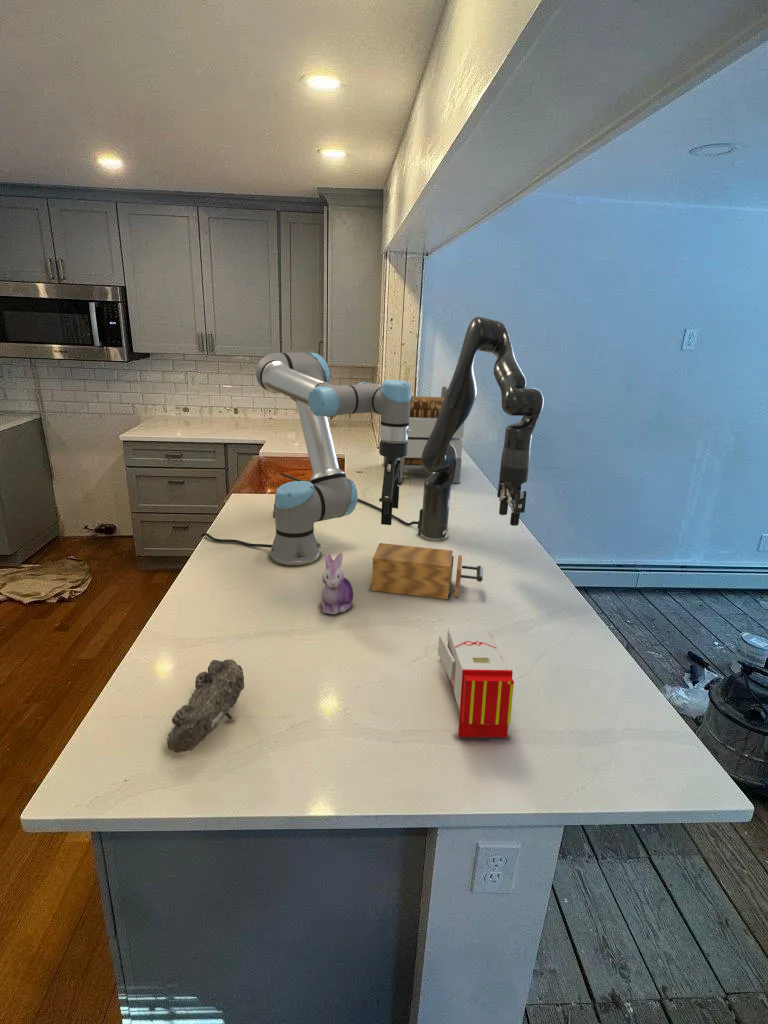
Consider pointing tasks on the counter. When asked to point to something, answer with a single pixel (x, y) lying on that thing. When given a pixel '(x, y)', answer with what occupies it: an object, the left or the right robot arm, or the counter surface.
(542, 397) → the right robot arm
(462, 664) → the toy
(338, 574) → the figurine
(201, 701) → the fossil
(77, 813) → the counter surface
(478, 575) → the drawer
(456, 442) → the transformer
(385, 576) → the cabinet
